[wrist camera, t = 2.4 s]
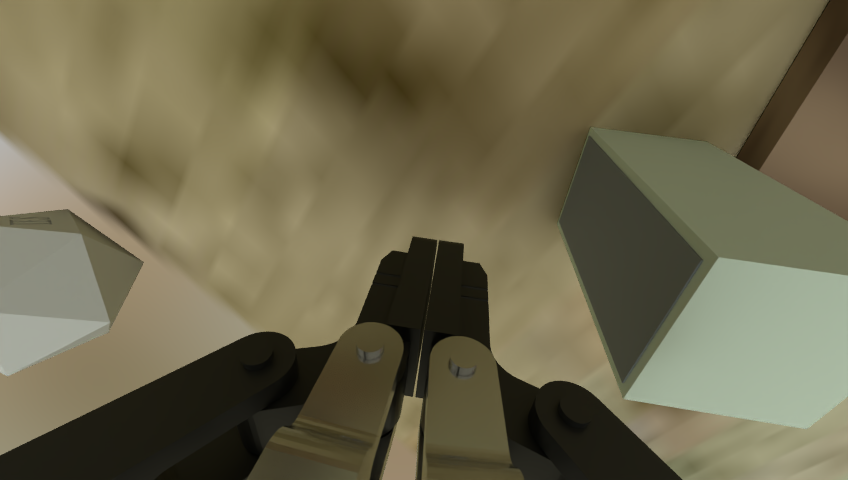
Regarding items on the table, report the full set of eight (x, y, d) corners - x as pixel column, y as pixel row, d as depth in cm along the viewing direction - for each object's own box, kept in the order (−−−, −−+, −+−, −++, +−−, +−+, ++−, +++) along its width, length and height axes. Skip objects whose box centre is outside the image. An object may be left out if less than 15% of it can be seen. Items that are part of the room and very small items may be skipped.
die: (125, 176, 21) (-179, 202, 14) (174, 314, 21) (-114, 408, 14) (119, 222, 27) (-99, 256, 20) (158, 330, 26) (-52, 402, 20)
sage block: (589, 126, 16) (716, 256, 7) (706, 141, 16) (976, 293, 7) (556, 223, 19) (621, 398, 10) (655, 237, 18) (806, 429, 10)
